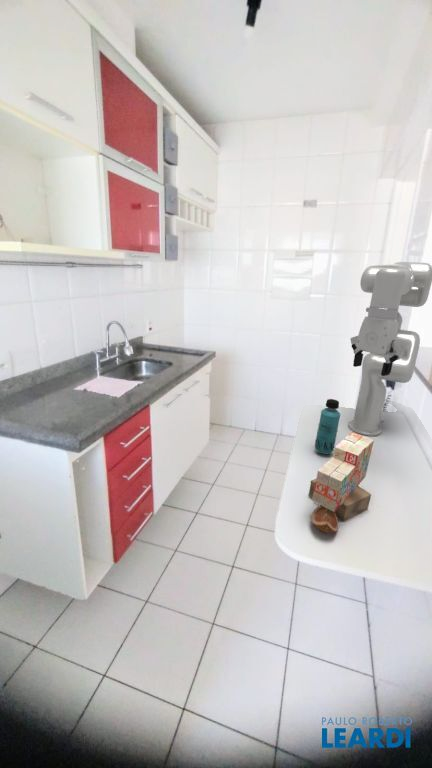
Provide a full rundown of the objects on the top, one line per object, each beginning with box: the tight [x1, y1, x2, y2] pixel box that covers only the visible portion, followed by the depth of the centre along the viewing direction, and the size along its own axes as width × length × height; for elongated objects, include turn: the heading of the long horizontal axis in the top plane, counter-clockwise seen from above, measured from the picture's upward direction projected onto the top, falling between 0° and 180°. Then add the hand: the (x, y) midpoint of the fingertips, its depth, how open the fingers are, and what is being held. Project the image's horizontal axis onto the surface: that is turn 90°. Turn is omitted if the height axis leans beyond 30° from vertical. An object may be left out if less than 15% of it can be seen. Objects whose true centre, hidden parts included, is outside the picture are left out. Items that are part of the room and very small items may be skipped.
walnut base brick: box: [308, 478, 372, 523], centre depth 94 cm, size 10×12×5 cm
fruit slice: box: [310, 504, 340, 534], centre depth 85 cm, size 8×7×5 cm
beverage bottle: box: [314, 398, 341, 455], centre depth 116 cm, size 6×7×20 cm
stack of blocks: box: [311, 432, 375, 512], centre depth 91 cm, size 21×6×12 cm, turn 138°
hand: (370, 370), depth 104 cm, fingers open, 9 cm apart
